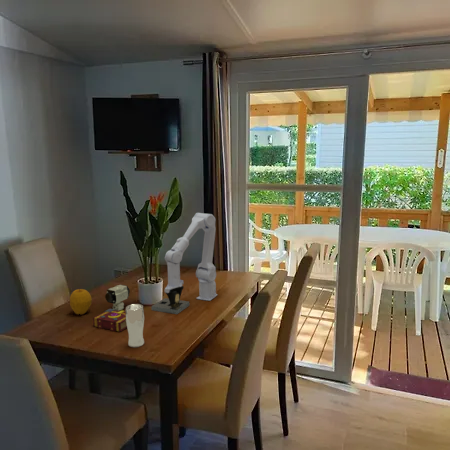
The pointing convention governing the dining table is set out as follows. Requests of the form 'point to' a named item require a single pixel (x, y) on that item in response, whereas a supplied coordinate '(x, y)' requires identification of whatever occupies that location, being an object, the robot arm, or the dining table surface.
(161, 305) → the grey plate with cutouts
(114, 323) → the decorative book
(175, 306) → the brass fitting
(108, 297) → the white security camera
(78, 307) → the apple
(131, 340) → the beer glass
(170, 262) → the robot arm
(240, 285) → the dining table surface
